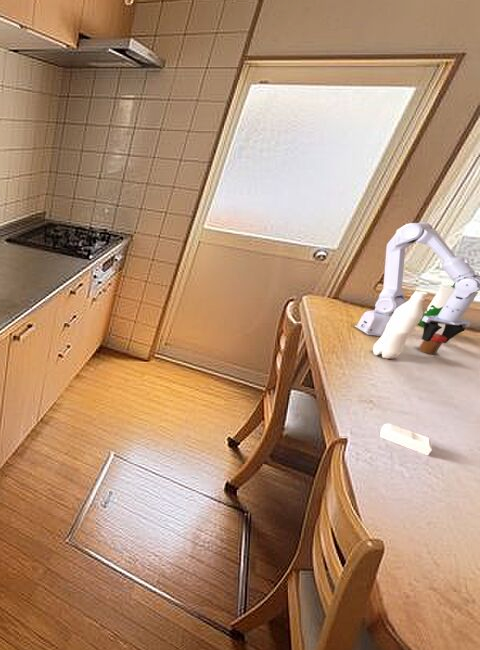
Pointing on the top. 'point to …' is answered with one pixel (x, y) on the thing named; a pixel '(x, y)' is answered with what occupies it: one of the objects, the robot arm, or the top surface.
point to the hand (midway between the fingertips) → (433, 341)
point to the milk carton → (438, 301)
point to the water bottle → (400, 326)
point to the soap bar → (406, 438)
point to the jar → (430, 346)
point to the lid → (438, 338)
